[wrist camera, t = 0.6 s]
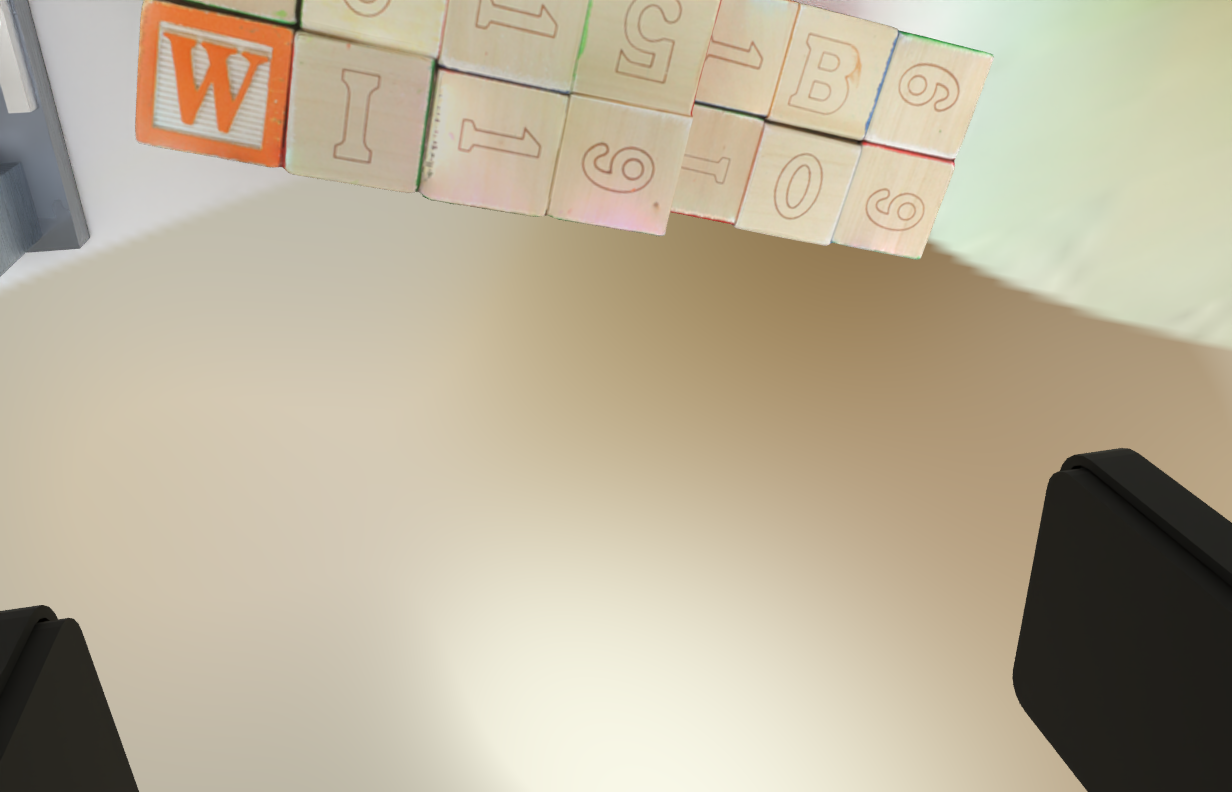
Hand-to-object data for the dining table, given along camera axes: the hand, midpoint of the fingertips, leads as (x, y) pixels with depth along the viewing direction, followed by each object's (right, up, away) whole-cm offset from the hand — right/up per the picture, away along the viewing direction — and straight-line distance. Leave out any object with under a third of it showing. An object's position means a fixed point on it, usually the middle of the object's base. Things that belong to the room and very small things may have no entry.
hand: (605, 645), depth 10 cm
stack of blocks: (-2, +15, +25) cm, 29 cm away
